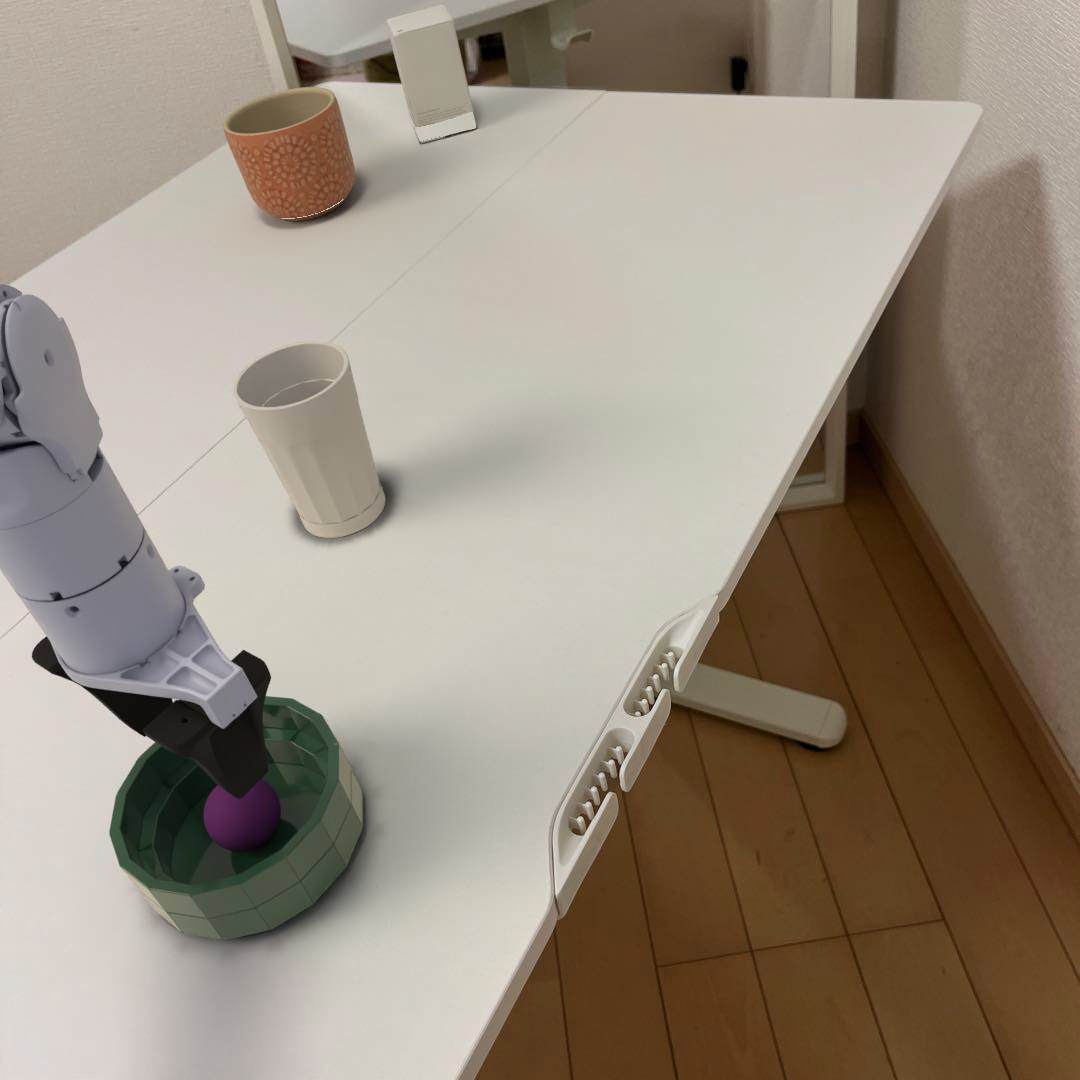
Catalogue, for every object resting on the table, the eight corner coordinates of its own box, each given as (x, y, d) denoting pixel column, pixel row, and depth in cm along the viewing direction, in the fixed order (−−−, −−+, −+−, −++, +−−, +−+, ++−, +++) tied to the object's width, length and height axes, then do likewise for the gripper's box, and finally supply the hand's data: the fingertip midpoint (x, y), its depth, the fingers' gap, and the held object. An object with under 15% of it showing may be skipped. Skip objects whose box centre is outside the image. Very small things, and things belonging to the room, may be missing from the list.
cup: (405, 470, 84) (360, 335, 76) (384, 541, 78) (332, 403, 70) (306, 478, 85) (252, 346, 77) (278, 549, 79) (216, 414, 72)
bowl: (248, 988, 54) (210, 938, 51) (107, 874, 61) (65, 823, 58) (410, 805, 61) (385, 750, 57) (266, 720, 67) (236, 666, 64)
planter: (317, 238, 117) (282, 138, 110) (235, 227, 123) (197, 131, 116) (387, 185, 124) (359, 88, 117) (306, 177, 130) (275, 84, 123)
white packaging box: (478, 129, 131) (454, 18, 123) (418, 145, 131) (390, 35, 123) (469, 109, 137) (445, 1, 129) (411, 124, 137) (383, 17, 128)
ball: (252, 878, 58) (225, 837, 56) (204, 844, 60) (176, 803, 58) (305, 822, 60) (281, 779, 58) (257, 791, 63) (233, 748, 60)
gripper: (258, 546, 45) (355, 750, 54) (61, 456, 53) (174, 647, 61) (120, 663, 41) (249, 862, 50) (-69, 547, 49) (71, 736, 58)
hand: (201, 750), depth 55 cm, fingers open, 7 cm apart
